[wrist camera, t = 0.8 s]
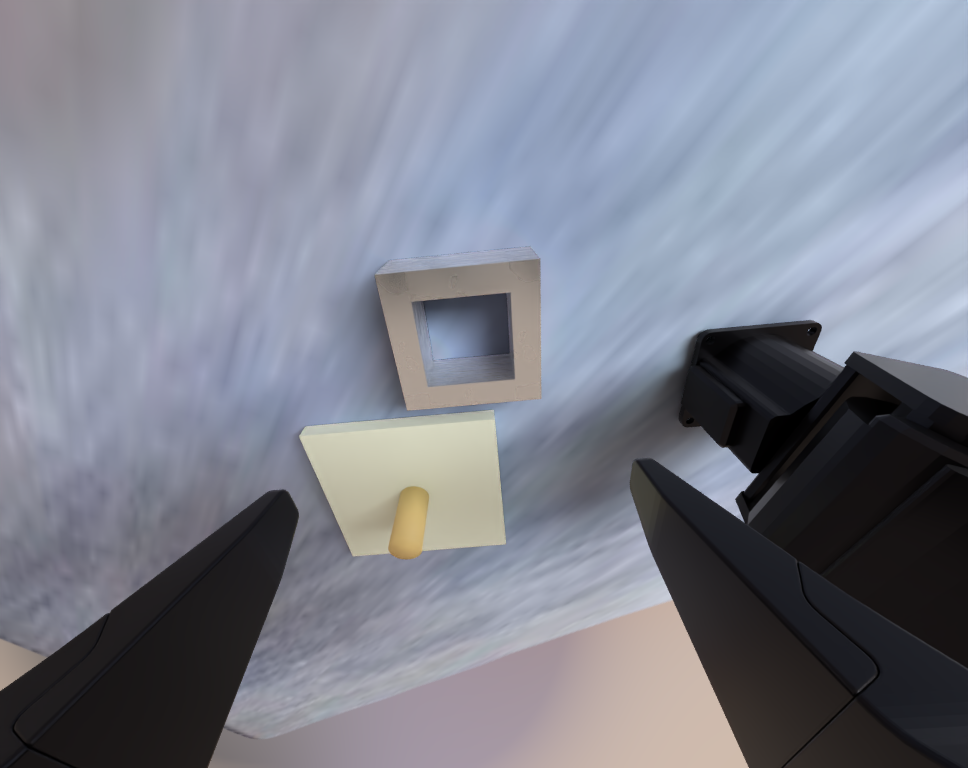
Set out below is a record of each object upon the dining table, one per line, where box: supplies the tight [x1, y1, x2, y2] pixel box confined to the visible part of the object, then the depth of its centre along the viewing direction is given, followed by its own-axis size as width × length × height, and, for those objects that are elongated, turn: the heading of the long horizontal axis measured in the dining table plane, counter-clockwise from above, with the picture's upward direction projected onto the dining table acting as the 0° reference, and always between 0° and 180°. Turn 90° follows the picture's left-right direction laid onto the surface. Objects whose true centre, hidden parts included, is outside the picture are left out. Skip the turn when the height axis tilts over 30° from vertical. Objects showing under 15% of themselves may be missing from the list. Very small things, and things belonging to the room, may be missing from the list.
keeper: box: [299, 410, 506, 559], centre depth 23 cm, size 12×12×5 cm
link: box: [375, 246, 541, 411], centre depth 18 cm, size 7×7×3 cm
